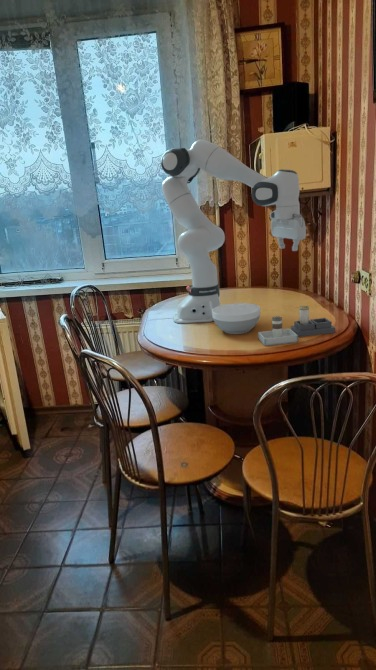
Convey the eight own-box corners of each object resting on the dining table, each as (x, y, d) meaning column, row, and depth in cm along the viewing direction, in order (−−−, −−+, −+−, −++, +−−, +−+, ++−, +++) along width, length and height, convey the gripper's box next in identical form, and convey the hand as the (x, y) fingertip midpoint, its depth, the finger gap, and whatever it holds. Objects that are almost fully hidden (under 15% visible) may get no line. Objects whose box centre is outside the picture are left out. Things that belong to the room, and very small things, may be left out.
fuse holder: (298, 337, 171) (298, 326, 170) (291, 330, 178) (290, 320, 177) (335, 332, 172) (335, 322, 171) (326, 326, 180) (326, 316, 178)
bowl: (213, 325, 195) (211, 304, 192) (258, 321, 194) (257, 301, 191) (213, 339, 177) (212, 316, 174) (263, 335, 176) (263, 313, 173)
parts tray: (264, 346, 164) (264, 339, 164) (258, 338, 173) (258, 332, 172) (298, 342, 165) (297, 335, 165) (289, 334, 174) (289, 328, 173)
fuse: (301, 329, 172) (301, 308, 170) (298, 326, 176) (297, 306, 173) (310, 328, 173) (310, 307, 170) (307, 325, 176) (307, 305, 174)
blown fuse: (273, 340, 167) (273, 319, 165) (271, 337, 171) (271, 316, 168) (283, 340, 167) (282, 318, 165) (281, 337, 171) (281, 316, 168)
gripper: (310, 213, 172) (310, 251, 176) (281, 212, 190) (282, 246, 194) (295, 215, 170) (295, 253, 174) (267, 213, 188) (268, 248, 193)
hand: (288, 249), depth 184 cm, fingers open, 8 cm apart
